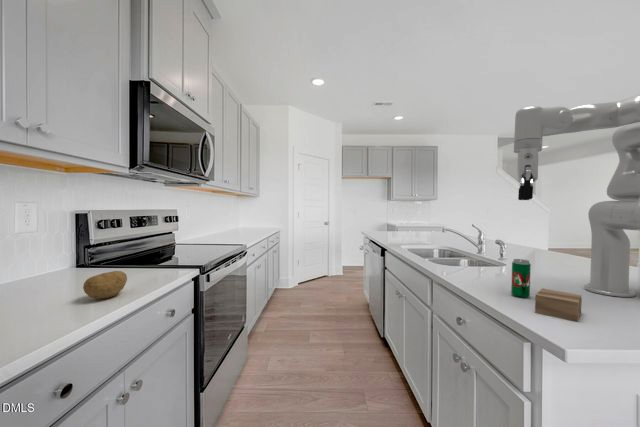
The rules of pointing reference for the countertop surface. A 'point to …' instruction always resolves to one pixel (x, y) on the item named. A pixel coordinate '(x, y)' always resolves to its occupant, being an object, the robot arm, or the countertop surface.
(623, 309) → the countertop surface
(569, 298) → the walnut block
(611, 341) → the countertop surface
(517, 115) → the robot arm
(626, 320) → the countertop surface
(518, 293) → the soda can
